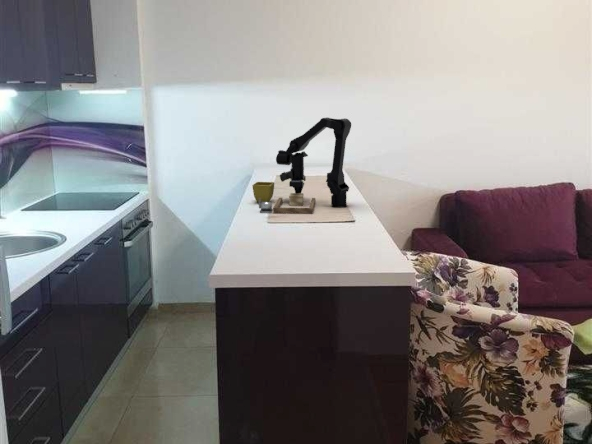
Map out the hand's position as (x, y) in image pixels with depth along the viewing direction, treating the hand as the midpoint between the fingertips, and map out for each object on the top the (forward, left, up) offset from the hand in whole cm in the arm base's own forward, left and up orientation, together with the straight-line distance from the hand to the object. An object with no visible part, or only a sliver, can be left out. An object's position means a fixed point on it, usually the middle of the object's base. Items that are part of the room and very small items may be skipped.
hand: (297, 198), depth 297 cm
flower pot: (+16, +2, -2) cm, 16 cm away
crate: (0, +7, -2) cm, 7 cm away
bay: (0, +14, -2) cm, 14 cm away
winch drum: (+12, +23, -2) cm, 26 cm away
